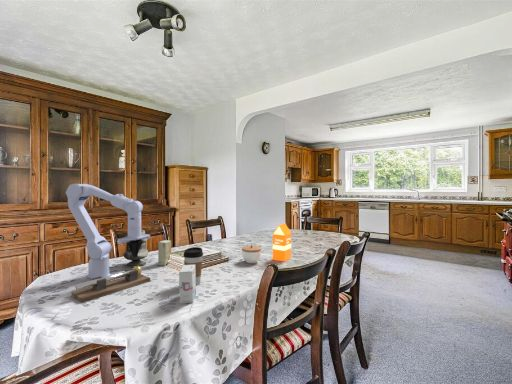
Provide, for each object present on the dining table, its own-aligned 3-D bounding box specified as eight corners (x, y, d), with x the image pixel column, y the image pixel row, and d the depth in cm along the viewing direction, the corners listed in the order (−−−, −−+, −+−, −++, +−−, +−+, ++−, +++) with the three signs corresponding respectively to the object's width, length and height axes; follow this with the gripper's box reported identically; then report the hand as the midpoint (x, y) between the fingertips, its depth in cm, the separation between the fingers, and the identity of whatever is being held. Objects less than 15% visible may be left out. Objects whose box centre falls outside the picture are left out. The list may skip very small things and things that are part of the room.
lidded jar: (264, 262, 148) (265, 245, 147) (248, 265, 142) (248, 248, 141) (254, 257, 157) (254, 242, 156) (238, 260, 151) (238, 244, 150)
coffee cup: (206, 281, 119) (206, 247, 119) (196, 288, 111) (196, 252, 111) (190, 279, 122) (190, 246, 121) (179, 285, 114) (179, 250, 113)
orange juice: (291, 257, 158) (291, 223, 157) (284, 261, 150) (284, 225, 149) (279, 255, 162) (279, 222, 161) (272, 259, 154) (272, 224, 154)
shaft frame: (71, 295, 103) (71, 281, 103) (138, 276, 125) (138, 264, 125) (82, 302, 97) (81, 287, 97) (150, 281, 119) (150, 268, 119)
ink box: (183, 293, 106) (183, 264, 105) (196, 293, 106) (196, 263, 106) (178, 303, 97) (178, 271, 97) (192, 303, 98) (192, 271, 97)
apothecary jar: (133, 269, 135) (133, 233, 134) (118, 265, 140) (118, 231, 140) (153, 263, 145) (153, 230, 144) (138, 259, 151) (138, 228, 150)
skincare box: (165, 265, 141) (165, 242, 140) (157, 265, 141) (157, 242, 141) (171, 262, 147) (171, 240, 146) (164, 261, 148) (164, 239, 147)
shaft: (74, 291, 101) (73, 280, 101) (136, 274, 121) (136, 264, 121) (78, 294, 99) (78, 282, 99) (141, 276, 118) (141, 266, 118)
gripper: (123, 230, 116) (123, 261, 116) (153, 226, 127) (153, 254, 128) (115, 228, 120) (115, 258, 120) (145, 224, 131) (145, 252, 132)
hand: (134, 256), depth 124 cm, fingers closed
